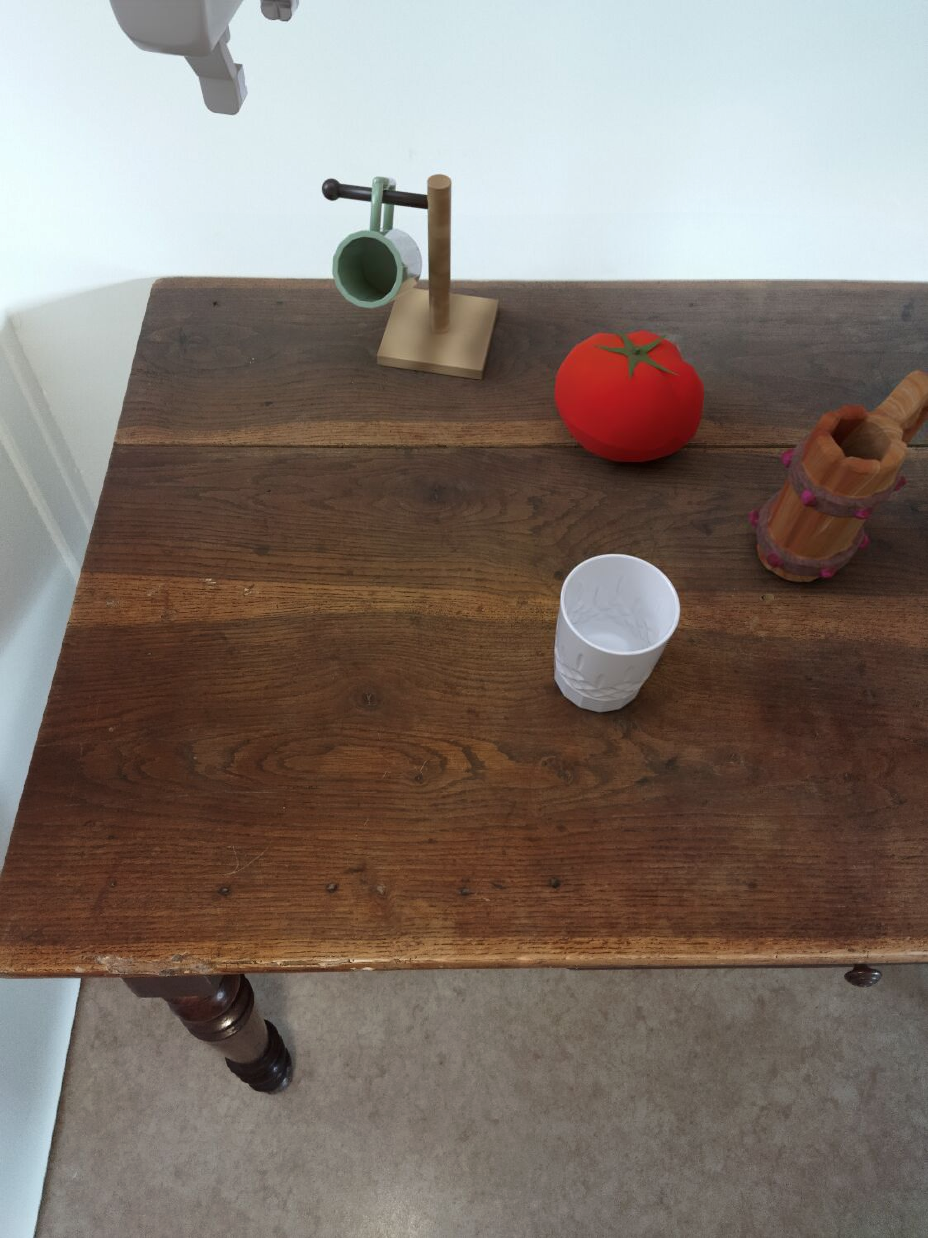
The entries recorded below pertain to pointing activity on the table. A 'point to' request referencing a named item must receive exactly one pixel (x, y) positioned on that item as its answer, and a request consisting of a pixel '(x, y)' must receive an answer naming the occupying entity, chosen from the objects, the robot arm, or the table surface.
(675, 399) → the tomato
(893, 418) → the mug
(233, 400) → the table surface
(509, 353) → the table surface
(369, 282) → the enamel mug
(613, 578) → the white cup
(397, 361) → the mug stand
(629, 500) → the table surface
